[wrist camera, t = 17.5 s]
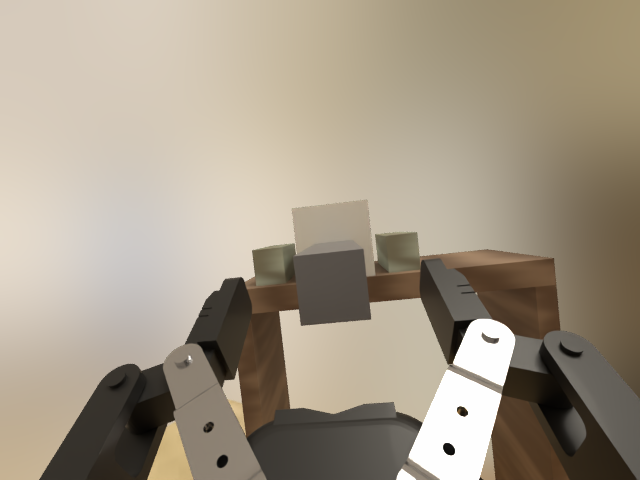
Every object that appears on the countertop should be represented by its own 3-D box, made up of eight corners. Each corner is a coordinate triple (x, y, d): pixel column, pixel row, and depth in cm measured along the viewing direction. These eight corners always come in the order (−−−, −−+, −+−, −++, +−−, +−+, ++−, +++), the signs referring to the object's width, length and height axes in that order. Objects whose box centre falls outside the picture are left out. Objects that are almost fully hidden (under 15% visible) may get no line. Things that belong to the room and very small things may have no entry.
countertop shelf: (515, 535, 33) (484, 221, 32) (591, 667, 23) (550, 218, 22) (293, 544, 35) (258, 246, 34) (274, 671, 25) (224, 253, 24)
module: (365, 262, 32) (359, 207, 32) (407, 316, 12) (392, 172, 12) (311, 268, 33) (304, 214, 33) (266, 328, 13) (250, 190, 13)
